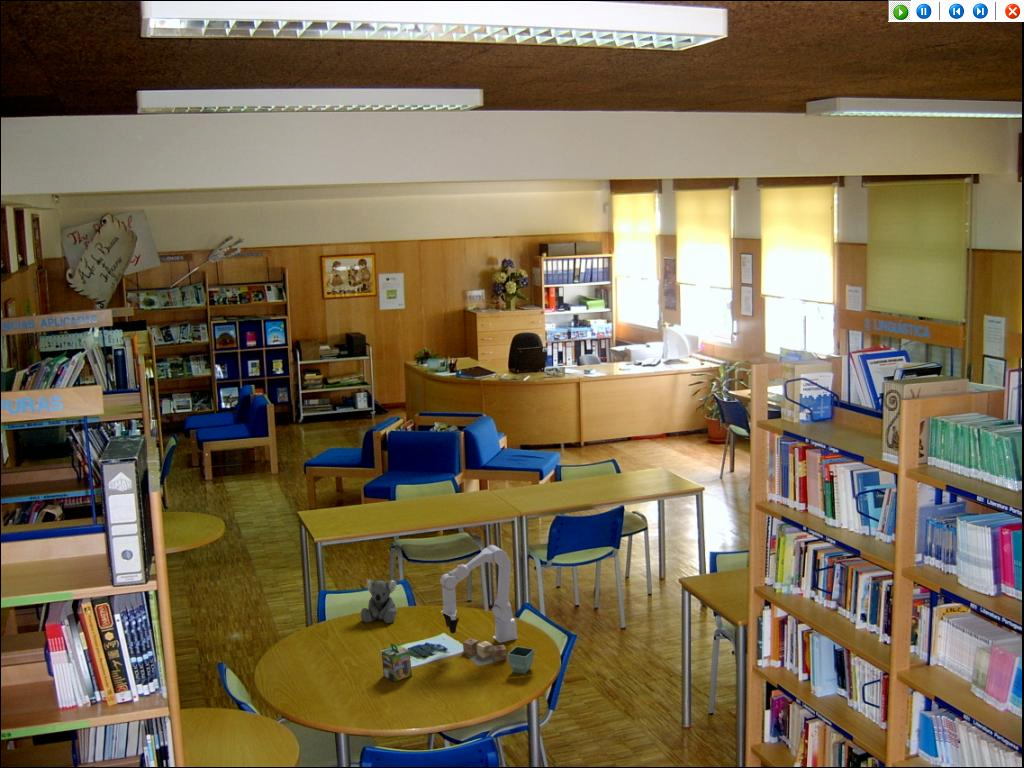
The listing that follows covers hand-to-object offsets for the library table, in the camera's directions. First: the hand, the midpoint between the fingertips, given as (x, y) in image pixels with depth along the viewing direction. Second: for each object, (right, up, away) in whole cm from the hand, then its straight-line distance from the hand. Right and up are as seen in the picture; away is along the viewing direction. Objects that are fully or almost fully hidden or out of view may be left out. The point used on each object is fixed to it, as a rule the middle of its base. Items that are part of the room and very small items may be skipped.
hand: (451, 629), depth 488 cm
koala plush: (-37, -4, +46) cm, 59 cm away
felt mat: (+16, -10, -6) cm, 20 cm away
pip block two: (+9, -10, -2) cm, 13 cm away
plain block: (+15, -10, -5) cm, 19 cm away
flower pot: (+32, -13, -23) cm, 41 cm away
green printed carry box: (-22, -15, -22) cm, 34 cm away
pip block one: (+22, -10, -10) cm, 26 cm away
